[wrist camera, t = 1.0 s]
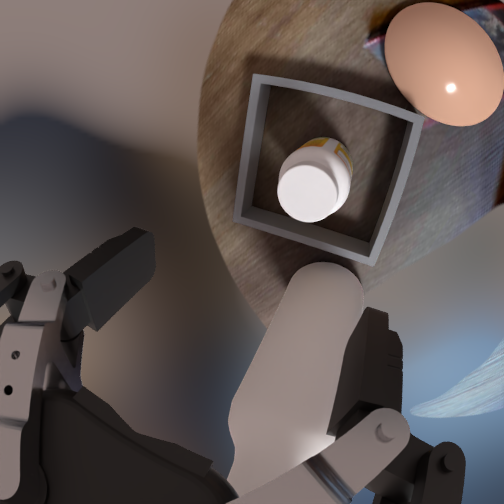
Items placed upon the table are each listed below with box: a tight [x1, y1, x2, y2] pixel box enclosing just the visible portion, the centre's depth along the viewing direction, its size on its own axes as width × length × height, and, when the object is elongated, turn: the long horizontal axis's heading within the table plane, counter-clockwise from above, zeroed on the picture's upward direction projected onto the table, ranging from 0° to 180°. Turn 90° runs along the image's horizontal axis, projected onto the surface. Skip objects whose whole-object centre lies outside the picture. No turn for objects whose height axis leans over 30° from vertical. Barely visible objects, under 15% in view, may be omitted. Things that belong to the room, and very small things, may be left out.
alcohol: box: [227, 262, 364, 497], centre depth 21 cm, size 9×9×30 cm
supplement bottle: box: [277, 137, 353, 222], centre depth 22 cm, size 5×5×10 cm
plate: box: [384, 2, 504, 126], centre depth 16 cm, size 12×12×1 cm
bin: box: [233, 74, 425, 267], centre depth 25 cm, size 15×15×3 cm
